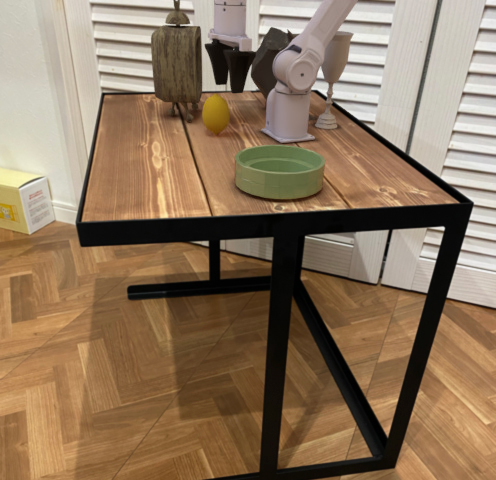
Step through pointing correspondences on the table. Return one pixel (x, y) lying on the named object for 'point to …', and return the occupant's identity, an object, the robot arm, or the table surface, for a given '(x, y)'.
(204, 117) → the lemon
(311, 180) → the bowl
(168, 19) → the tabletop clock
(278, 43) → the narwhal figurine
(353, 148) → the table surface
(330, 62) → the chalice
